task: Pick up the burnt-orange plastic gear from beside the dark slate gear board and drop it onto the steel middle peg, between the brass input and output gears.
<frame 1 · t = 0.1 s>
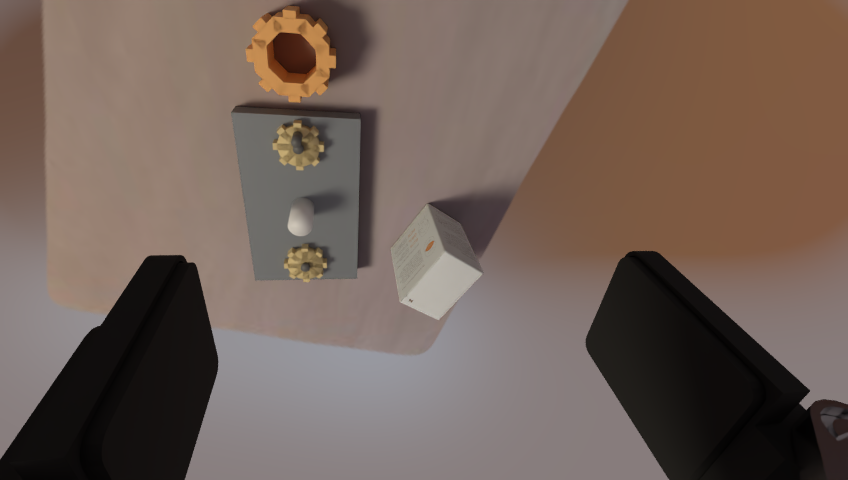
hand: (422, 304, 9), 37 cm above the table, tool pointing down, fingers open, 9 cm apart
small box: (425, 234, 53), on the table
gear: (296, 50, 39), on the table
board: (304, 198, 47), on the table
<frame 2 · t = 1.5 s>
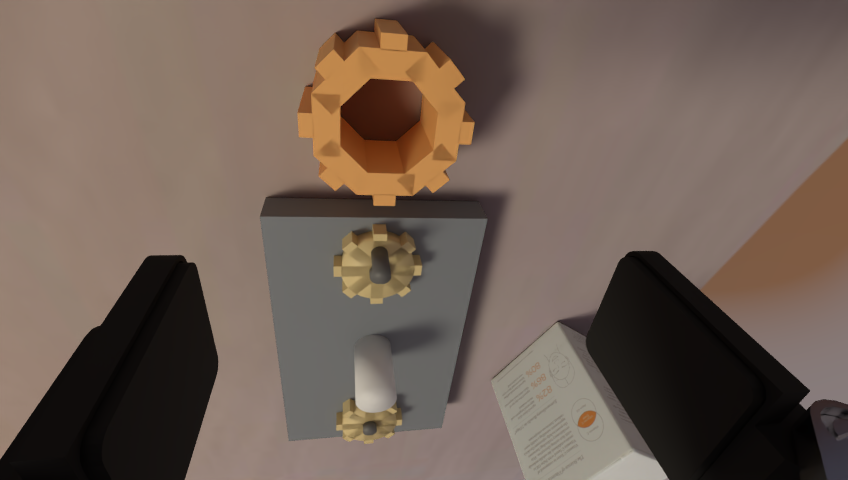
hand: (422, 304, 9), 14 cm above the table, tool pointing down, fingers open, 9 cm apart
small box: (543, 358, 35), on the table
gear: (381, 101, 21), on the table
board: (370, 325, 29), on the table
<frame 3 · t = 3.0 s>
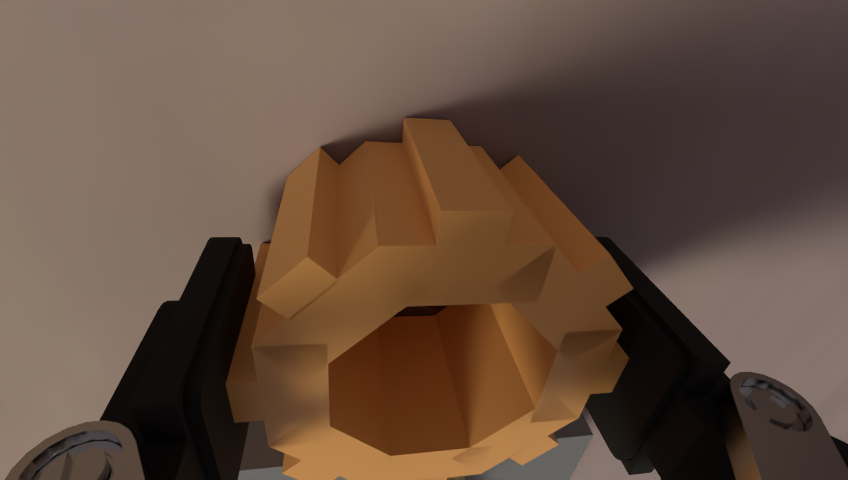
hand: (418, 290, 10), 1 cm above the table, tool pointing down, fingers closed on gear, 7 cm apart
gear: (412, 259, 11), on the table, touching gripper
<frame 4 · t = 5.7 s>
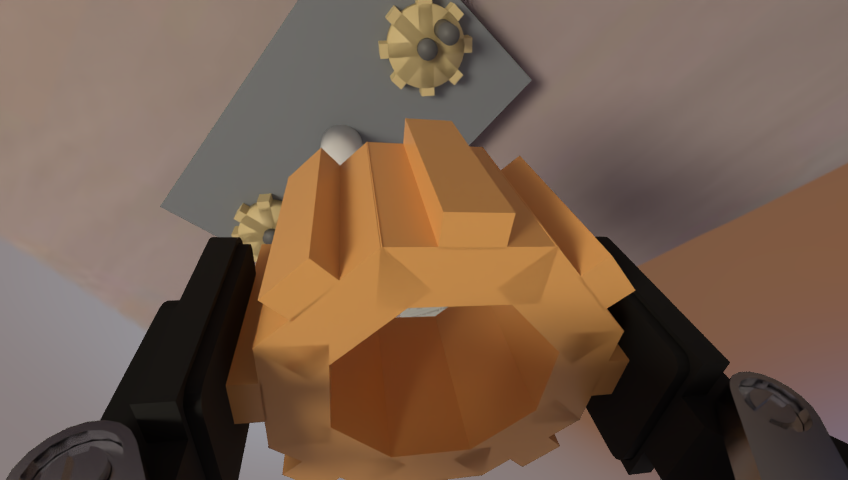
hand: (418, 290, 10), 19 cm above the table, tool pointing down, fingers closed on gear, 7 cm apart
small box: (448, 283, 35), on the table
gear: (413, 259, 11), point 17 cm above the table, touching gripper
board: (342, 132, 26), on the table
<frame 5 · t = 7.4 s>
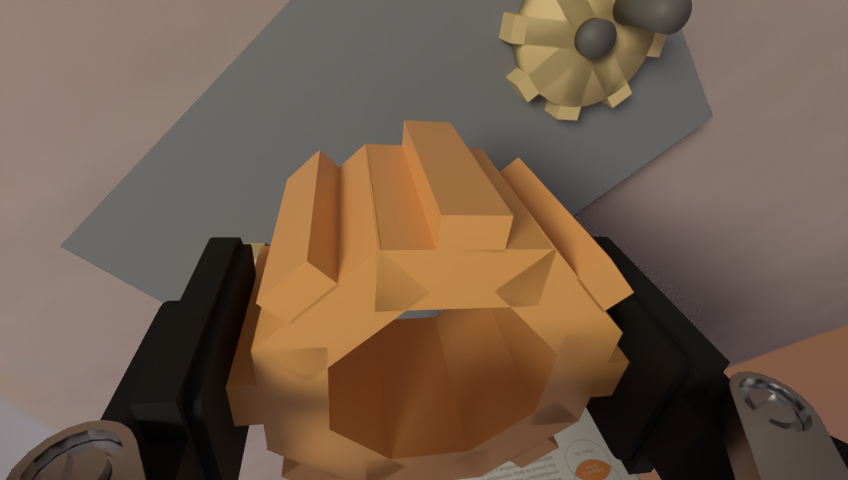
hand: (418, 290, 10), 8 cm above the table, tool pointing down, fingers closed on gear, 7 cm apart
small box: (490, 374, 25), on the table
gear: (412, 261, 11), point 7 cm above the table, touching gripper
board: (393, 157, 16), on the table
when the fingers open (4 cm above the table, at t = 8.6 s): gear drops 1 cm, resting on board.
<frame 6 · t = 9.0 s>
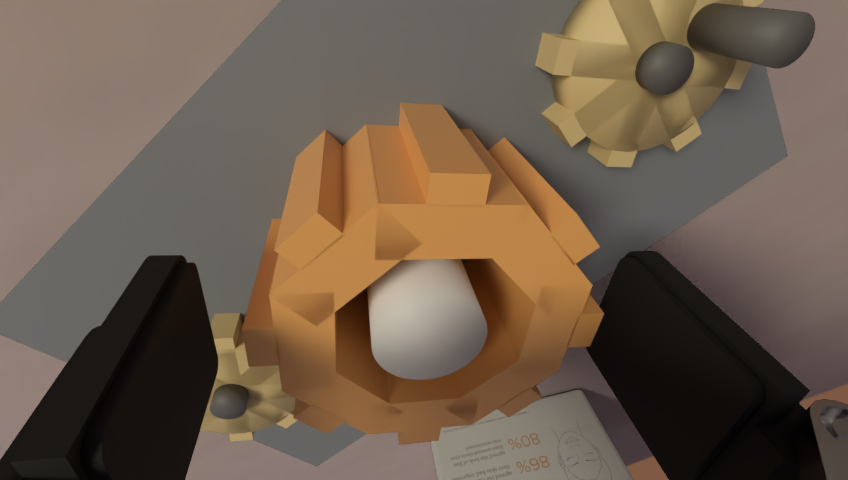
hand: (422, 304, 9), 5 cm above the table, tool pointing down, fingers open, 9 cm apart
small box: (505, 430, 22), on the table
gear: (409, 234, 12), point 2 cm above the table, touching board
board: (398, 202, 13), on the table
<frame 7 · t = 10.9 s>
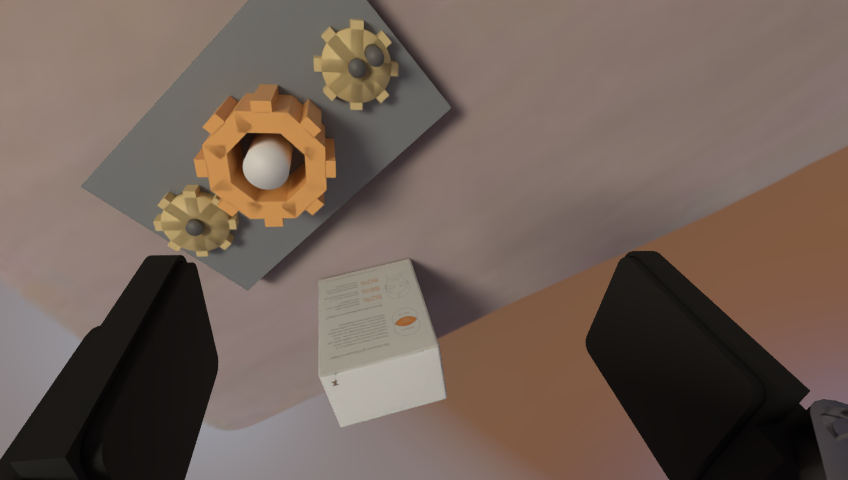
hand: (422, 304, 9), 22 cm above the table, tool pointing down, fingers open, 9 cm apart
small box: (371, 290, 37), on the table
gear: (274, 144, 26), point 2 cm above the table, touching board
board: (276, 135, 28), on the table
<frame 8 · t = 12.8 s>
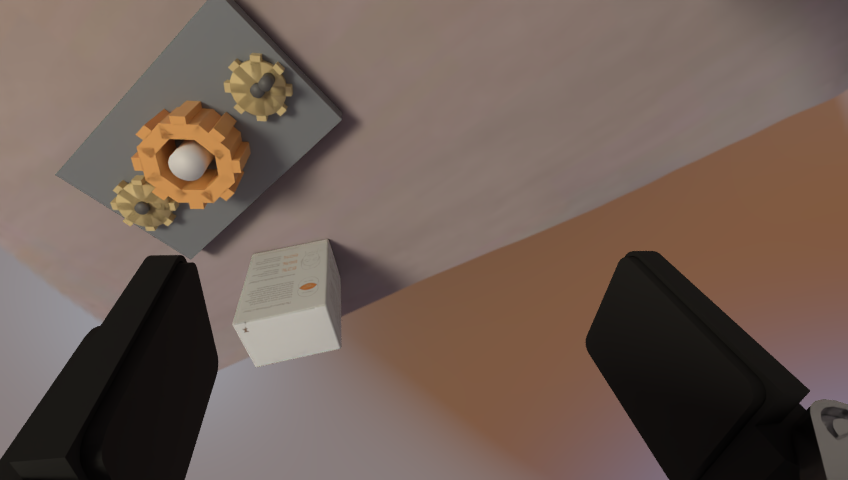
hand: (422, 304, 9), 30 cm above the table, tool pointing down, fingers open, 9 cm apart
small box: (299, 264, 45), on the table
gear: (202, 146, 34), point 2 cm above the table, touching board
board: (207, 138, 36), on the table
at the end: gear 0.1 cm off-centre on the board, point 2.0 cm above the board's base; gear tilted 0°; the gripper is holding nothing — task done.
